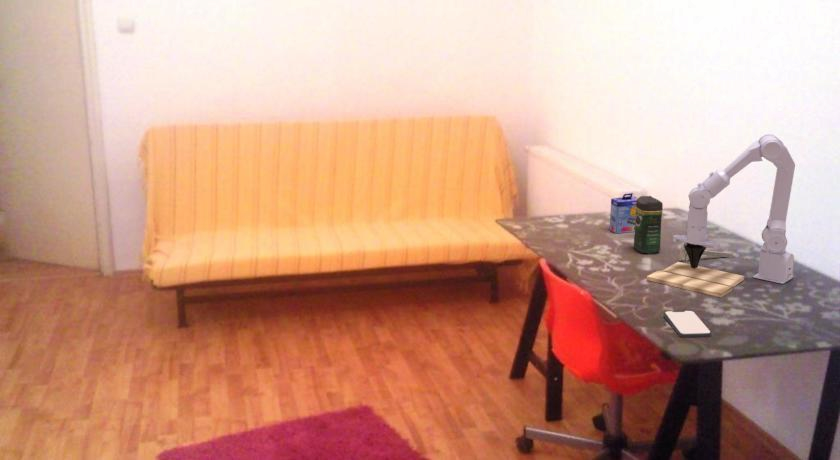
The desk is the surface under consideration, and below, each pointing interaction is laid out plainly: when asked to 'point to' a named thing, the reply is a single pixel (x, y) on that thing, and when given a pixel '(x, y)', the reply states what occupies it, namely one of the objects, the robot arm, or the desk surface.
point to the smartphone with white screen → (687, 324)
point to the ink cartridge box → (623, 214)
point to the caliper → (710, 253)
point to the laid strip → (690, 283)
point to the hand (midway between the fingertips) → (694, 267)
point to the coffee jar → (648, 224)
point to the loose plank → (705, 274)
